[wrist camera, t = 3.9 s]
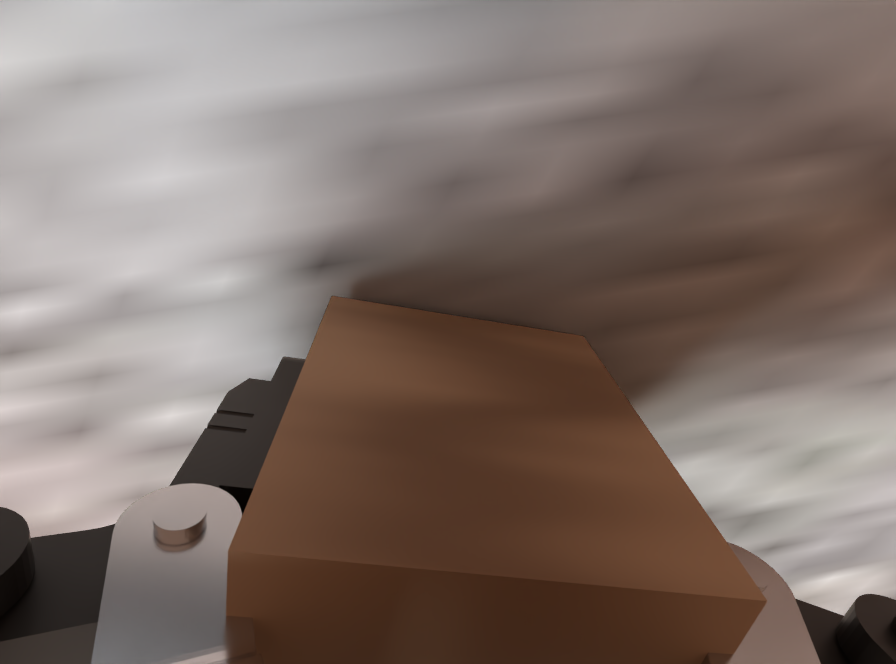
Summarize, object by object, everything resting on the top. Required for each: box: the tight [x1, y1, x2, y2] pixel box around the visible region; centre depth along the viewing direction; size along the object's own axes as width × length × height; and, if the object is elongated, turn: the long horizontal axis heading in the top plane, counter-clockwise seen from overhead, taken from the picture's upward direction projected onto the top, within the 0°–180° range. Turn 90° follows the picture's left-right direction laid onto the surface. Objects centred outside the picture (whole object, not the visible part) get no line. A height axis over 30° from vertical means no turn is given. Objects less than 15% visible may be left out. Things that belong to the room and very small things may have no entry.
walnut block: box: [226, 296, 767, 664], centre depth 8 cm, size 5×4×6 cm
